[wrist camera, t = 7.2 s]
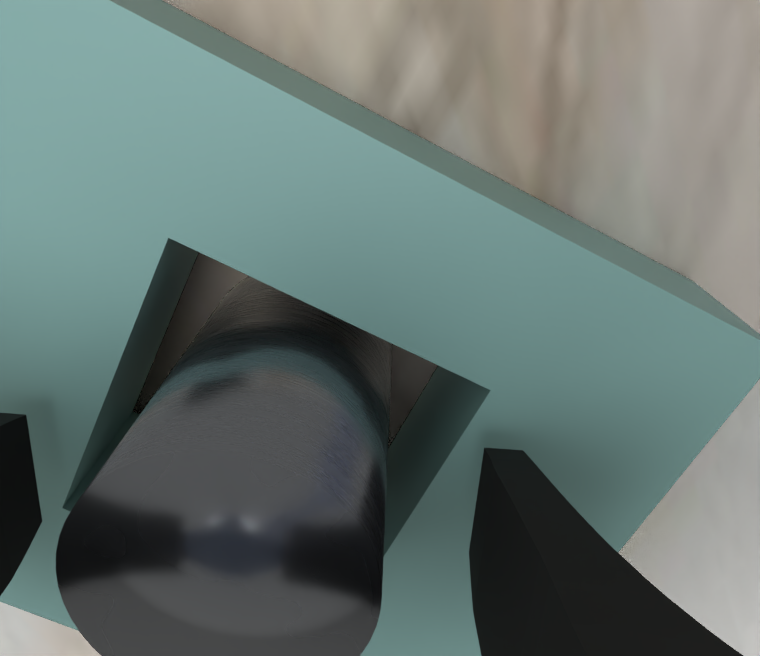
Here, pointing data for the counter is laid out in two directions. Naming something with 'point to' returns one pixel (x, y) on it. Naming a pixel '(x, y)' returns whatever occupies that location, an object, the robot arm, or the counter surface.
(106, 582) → the pin
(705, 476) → the counter surface
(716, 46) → the counter surface
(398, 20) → the counter surface
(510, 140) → the counter surface
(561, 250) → the hole block
